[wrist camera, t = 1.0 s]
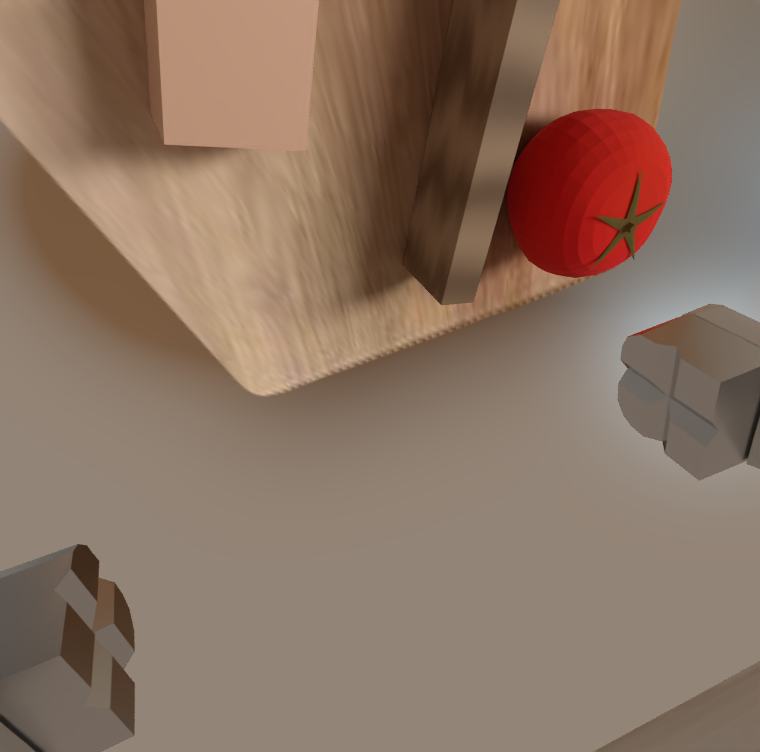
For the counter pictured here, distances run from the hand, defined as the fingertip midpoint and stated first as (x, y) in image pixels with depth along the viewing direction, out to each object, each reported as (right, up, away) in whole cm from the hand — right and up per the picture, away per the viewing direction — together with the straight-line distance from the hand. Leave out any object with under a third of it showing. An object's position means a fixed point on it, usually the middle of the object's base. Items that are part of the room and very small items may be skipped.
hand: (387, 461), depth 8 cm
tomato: (+14, +19, +41) cm, 48 cm away
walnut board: (+6, +23, +33) cm, 40 cm away
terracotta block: (-10, +21, +26) cm, 35 cm away
